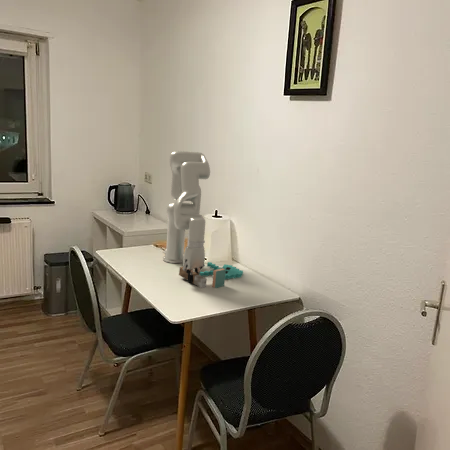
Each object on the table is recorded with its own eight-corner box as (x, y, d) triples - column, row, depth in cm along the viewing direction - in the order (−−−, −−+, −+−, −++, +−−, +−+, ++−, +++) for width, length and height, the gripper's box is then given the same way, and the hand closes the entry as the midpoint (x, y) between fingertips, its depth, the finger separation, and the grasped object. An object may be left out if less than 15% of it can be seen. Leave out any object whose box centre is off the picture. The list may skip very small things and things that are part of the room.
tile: (212, 286, 211) (213, 270, 209) (221, 284, 215) (222, 268, 214) (215, 288, 210) (216, 271, 208) (224, 285, 214) (225, 269, 212)
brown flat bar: (178, 274, 219) (179, 267, 218) (183, 273, 221) (184, 266, 220) (200, 287, 208) (202, 279, 207) (205, 286, 211) (206, 278, 209)
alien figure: (198, 276, 225) (238, 282, 221) (198, 272, 224) (238, 278, 221) (208, 266, 244) (244, 271, 241) (208, 262, 244) (245, 267, 240)
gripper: (202, 240, 219) (200, 276, 223) (176, 244, 207) (174, 282, 211) (213, 243, 214) (210, 280, 218) (187, 248, 202) (184, 287, 206)
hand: (192, 281), depth 214 cm, fingers closed on brown flat bar, 2 cm apart
